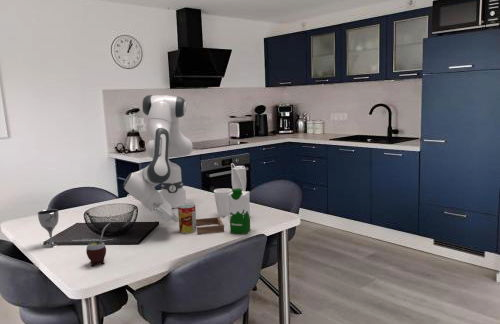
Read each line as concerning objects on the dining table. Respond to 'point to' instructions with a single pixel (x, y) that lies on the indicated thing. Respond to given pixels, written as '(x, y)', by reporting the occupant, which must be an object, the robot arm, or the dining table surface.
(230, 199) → the milk carton
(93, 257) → the mate gourd
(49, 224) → the wine glass
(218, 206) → the foam cup
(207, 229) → the wooden tray
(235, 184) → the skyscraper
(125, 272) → the dining table surface
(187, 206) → the canned food
